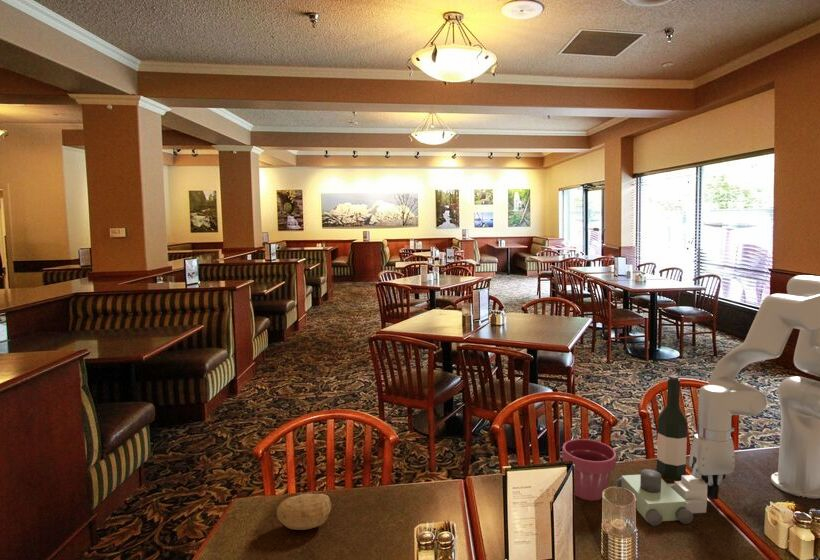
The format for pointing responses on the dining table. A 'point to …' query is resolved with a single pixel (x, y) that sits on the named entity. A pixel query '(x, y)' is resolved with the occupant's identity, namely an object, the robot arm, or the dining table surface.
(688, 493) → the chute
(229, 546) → the dining table surface
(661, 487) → the toy car
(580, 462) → the plant pot
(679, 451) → the wine bottle
